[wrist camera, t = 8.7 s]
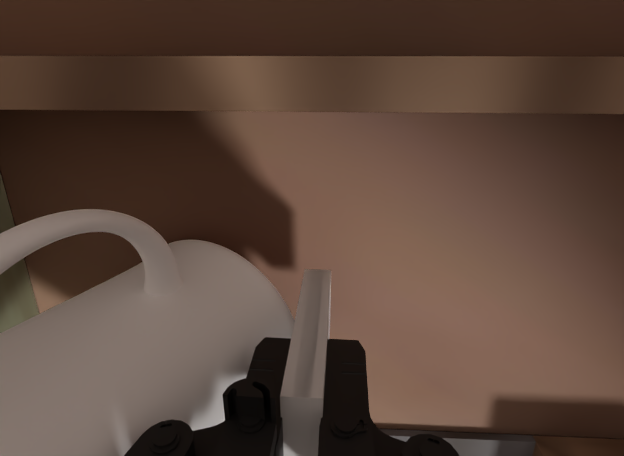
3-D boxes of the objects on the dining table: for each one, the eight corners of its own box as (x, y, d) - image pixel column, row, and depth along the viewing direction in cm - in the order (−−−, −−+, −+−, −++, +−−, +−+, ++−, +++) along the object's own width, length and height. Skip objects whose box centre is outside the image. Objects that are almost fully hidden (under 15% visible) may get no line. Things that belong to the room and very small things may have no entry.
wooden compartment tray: (811, 56, 15) (1105, 56, 9) (591, 602, 26) (661, 750, 20) (-73, 56, 16) (-289, 55, 11) (86, 571, 28) (22, 701, 22)
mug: (156, 128, 16) (-484, 225, 6) (359, 219, 14) (-136, 652, 3) (133, 355, 21) (-228, 615, 11) (278, 451, 19) (-16, 896, 9)
